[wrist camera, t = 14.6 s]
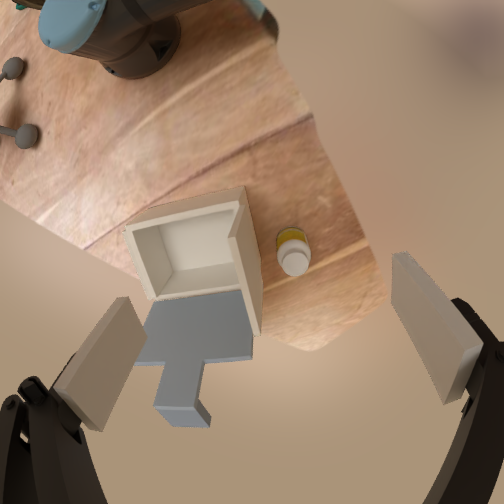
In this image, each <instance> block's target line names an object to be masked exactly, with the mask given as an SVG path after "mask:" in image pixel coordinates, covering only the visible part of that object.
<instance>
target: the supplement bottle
mask: <svg viewBox="0 0 504 504" xmlns="http://www.w3.org/2000/svg"><path fill="white" fill-rule="evenodd" d="M276 247H277V260H278V263H279V264H280V266H281V267H282V268H283V270H284V272H285V273H286V274H288V275H290V276H294V277H296V276H300V275H302V274H304V273H305V272H306V271H307V269H308V266H309V263H310V260H311V251H310V247H309V244H308V240H307V237H306V235H305V233H304V231H303V230H302V229H300V228H298V227H296V226H288V227H285V228H283V229H282V230H281V231H280V232H279V233H278V235H277V239H276Z"/></svg>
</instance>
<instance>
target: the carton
mask: <svg viewBox="0 0 504 504" xmlns="http://www.w3.org/2000/svg"><path fill="white" fill-rule="evenodd" d="M124 227H125V230H124V231H123V232H122V234H123V237H124V240H125V242H126V245H127V248H128V251H129V253H130V256H131V258H132V261H133V264H134V266H135V269H136V271H137V274H138V276H139V279H140V281H141V284H142V286H143V289H144V291H145V293H146V296H147V298H148V300H152V299H153V298H155V301H160V300H168V299H176V298H183V297H191V296H198V295H206V294H213V293H220V292H227V291H234V290H240V289H241V291H242V295H243V299H244V302H245V306H246V310H247V313H248V317H249V320H250V324H251V328H252V331H253V335H254V337H255V336H261V323H262V304H263V280H262V275H261V257H260V252H259V248H258V243H257V239H256V234H255V230H254V226H253V221H252V217H251V212H250V208H249V203H248V199H247V194H246V190H245V186H242V187H237V188H232V189H227V190H223V191H218V192H213V193H209V194H204V195H200V196H196V197H192V198H187V199H183V200H179V201H175V202H171V203H167V204H163V205H159V206H155V207H151V208H148V209H147V210H145V211H144V212H143V213H141V214H140V215H139V216H137V217H136V218H135V219H133V220H132V221H131V222H129V223H128V224H127V225H126V226H124Z"/></svg>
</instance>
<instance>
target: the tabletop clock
mask: <svg viewBox="0 0 504 504" xmlns="http://www.w3.org/2000/svg"><path fill="white" fill-rule="evenodd" d="M12 1H13V2H15V3H17V4H19V5H22V6H25V7H29V8H33V9H37V10H42V7H43V5H44V4H45V1H46V0H12Z"/></svg>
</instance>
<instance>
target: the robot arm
mask: <svg viewBox="0 0 504 504" xmlns="http://www.w3.org/2000/svg"><path fill="white" fill-rule="evenodd" d="M209 1H213V0H46V1H45V4H44V5H43V7H42V10H41V13H40V16H39V23H38V30H39V35H40V38H41V40H42V42H43V43H44V44H45V45H46V46H48V47H50V48H52V49H56V50H58V51H59V52H61V53H65V54H72V55H77V56H81V57H86V58H90V59H94V60H98V61H99V62H100V63H101V64H102V66H103V67H104V68H105V69H106V70H107V71H108V72H109V73H111V74H113V75H115V76H117V77H121V78H125V79H138V78H142V77H145V76H148V75H150V74H152V73H154V72H156V71H157V70H159V69H160V68H161V67H163V66H164V65H165V64H166V63H167V62H168V61H169V60H170V58H171V57H172V56H173V54H174V53H175V51H176V49H177V47H178V44H179V41H180V35H181V29H180V24H179V21H178V19H177V18H176V16H175V15H174V14H177V13H179V12H182V11H184V10H187V9H190V8H192V7H195V6H198V5H201V4H203V3H206V2H209ZM391 304H392V306H393V307H394V309H395V311H396V313H397V314H398V316H399V318H400V320H401V321H402V323H403V325H404V327H405V329H406V330H407V332H408V334H409V336H410V338H411V340H412V342H413V343H414V345H415V347H416V349H417V351H418V353H419V355H420V357H421V359H422V361H423V363H424V365H425V367H426V369H427V371H428V373H429V375H430V377H431V379H432V381H433V383H434V385H435V387H436V389H437V392H438V394H439V396H440V398H441V400H442V402H443V405H445V404H448V403H450V402H453V401H455V400H458V399H460V398H461V397H462V395H463V392H464V390H465V388H466V389H467V391H468V393H469V395H470V396H469V398H468V400H467V402H466V404H465V406H464V408H463V409H462V411H461V412H462V413H463V415H462V418H461V421H460V424H459V427H458V430H457V432H456V435H455V437H454V440H453V442H452V445H451V447H450V450H449V452H448V454H447V457H446V459H445V461H444V463H443V466H442V468H441V470H440V472H439V474H438V476H437V478H436V480H435V482H434V484H433V486H432V488H431V490H430V491H429V493H428V495H427V497H426V499H425V500H424V502H423V504H488V502H489V499H490V497H491V494H492V492H493V489H494V486H495V484H496V481H497V478H498V475H499V472H500V469H501V466H502V463H503V460H504V342H499V341H498V339H497V338H496V337H495V336H494V334H493V333H492V332H491V330H490V329H489V328H488V327H487V325H486V324H485V323H484V322H483V320H482V319H480V317H479V316H478V314H477V313H475V311H474V310H473V309H472V307H471V306H470V305H469V304H468V303H467V302H465V301H463V300H461V299H459V298H455V299H452V300H450V299H449V298H448V297H447V296H446V295H445V293H444V292H443V291H442V290H441V289H440V288H439V286H438V285H437V284H436V283H435V282H434V281H433V279H432V278H431V277H430V276H429V275H428V274H427V273H426V272H425V271H424V269H423V268H422V267H421V266H420V265H419V264H418V263H417V262H416V261H415V260H414V259H413V257H412V256H411V255H410V254H409V253H408V252H407V251H405V252H400V253H395V254H392V294H391ZM147 338H148V336H147V334H146V333H145V331H144V328H143V326H142V324H141V322H140V320H139V318H138V316H137V314H136V312H135V310H134V308H133V305H132V304H131V301H130V299H129V297H120V298H117V299H116V300H115V301H114V302H113V304H112V305H111V306H110V308H109V309H108V310H107V312H106V313H105V314H104V316H103V317H102V318H101V320H100V321H99V322H98V323H97V325H96V326H95V328H94V329H93V330H92V332H91V333H90V334H89V336H88V337H87V338H86V340H85V341H84V343H83V344H82V345H81V347H80V348H79V350H78V351H77V352H76V353H75V354H74V355H73V356H72V357H71V358H70V360H69V361H68V363H67V365H66V366H65V367H64V369H63V371H62V372H61V373H60V374H59V376H58V377H57V379H56V380H55V382H54V383H53V385H52V386H51V388H50V389H49V391H48V390H47V388H46V387H45V386H44V385H43V383H42V382H41V381H40V379H39V378H38V377H37V376H31V377H28V378H27V379H25V380H24V381H23V382H22V383H21V384H20V386H19V388H18V391H17V392H18V393H19V394H20V395H21V397H22V398H23V399H24V400H25V401H26V402H23V401H22V400H21V398H20V397H19V396H18V395H16V394H15V395H11V396H9V397H8V398H6V399H5V401H4V402H3V404H2V407H1V411H0V504H108V503H107V500H106V498H105V496H104V493H103V490H102V488H101V485H100V482H99V480H98V477H97V474H96V471H95V469H94V465H93V462H92V459H91V456H90V453H89V449H88V446H87V442H86V439H85V435H84V432H83V430H82V428H81V427H80V424H81V422H83V423H84V424H85V425H86V426H87V427H88V428H89V429H90V430H95V431H99V432H102V431H103V429H104V427H105V424H106V422H107V420H108V418H109V416H110V414H111V411H112V409H113V407H114V405H115V403H116V401H117V399H118V397H119V395H120V392H121V390H122V388H123V386H124V383H125V382H126V380H127V378H128V376H129V374H130V372H131V369H132V367H133V366H134V364H135V362H136V360H137V358H138V356H139V354H140V352H141V350H142V348H143V346H144V344H145V342H146V340H147ZM20 433H23V434H24V435H25V436H26V437H27V438H28V442H27V443H26V442H25V441H24V440H23V439H22V438H21V437H20Z"/></svg>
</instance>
